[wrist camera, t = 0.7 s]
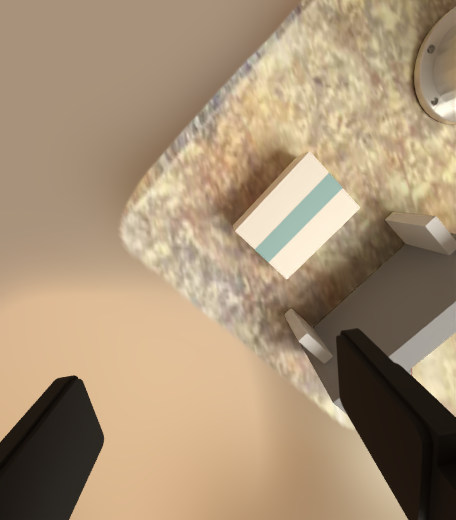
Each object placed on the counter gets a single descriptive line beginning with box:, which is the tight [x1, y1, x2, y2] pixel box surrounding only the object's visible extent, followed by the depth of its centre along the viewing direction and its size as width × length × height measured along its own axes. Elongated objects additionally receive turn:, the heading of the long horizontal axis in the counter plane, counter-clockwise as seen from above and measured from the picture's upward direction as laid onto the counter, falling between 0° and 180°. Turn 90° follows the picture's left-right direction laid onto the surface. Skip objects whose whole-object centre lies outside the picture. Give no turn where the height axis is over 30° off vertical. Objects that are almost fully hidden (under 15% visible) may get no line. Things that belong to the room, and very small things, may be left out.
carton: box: [233, 151, 360, 279], centre depth 32 cm, size 12×9×5 cm
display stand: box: [284, 212, 456, 414], centre depth 31 cm, size 24×8×12 cm, turn 137°
